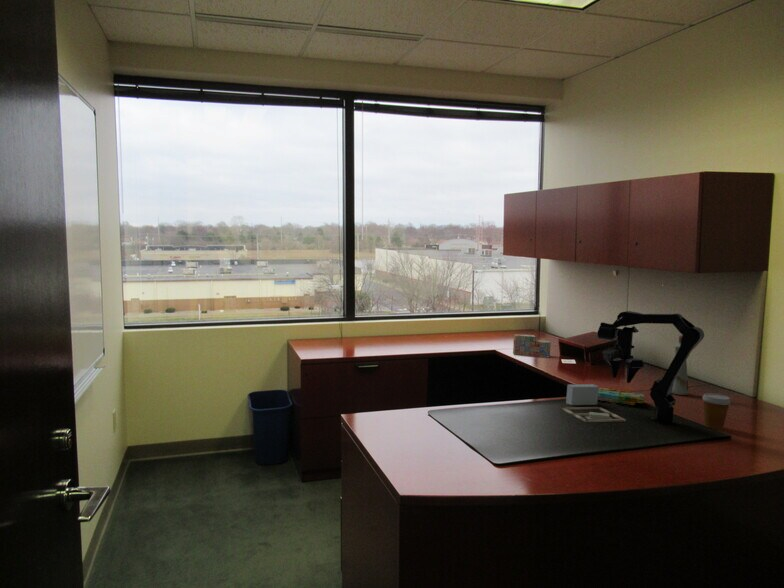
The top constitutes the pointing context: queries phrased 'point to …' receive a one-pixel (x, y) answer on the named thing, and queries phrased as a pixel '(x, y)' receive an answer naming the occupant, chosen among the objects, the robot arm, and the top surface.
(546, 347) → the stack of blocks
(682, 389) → the bottle
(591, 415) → the offcut upper
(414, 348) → the top surface
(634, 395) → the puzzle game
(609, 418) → the offcut lower
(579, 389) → the light grey block
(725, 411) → the disposable coffee cup
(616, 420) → the frame
